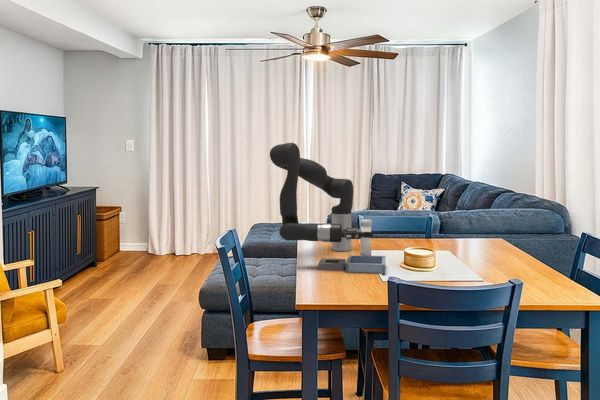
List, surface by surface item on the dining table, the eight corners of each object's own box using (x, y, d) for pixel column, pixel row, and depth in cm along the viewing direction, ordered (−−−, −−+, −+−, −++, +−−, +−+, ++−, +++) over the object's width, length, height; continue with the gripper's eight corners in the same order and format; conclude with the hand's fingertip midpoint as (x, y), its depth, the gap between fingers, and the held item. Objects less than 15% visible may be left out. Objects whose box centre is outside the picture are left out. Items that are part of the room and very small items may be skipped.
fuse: (360, 253, 230) (360, 219, 228) (371, 253, 229) (372, 219, 228) (359, 255, 225) (360, 220, 224) (370, 256, 225) (371, 220, 223)
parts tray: (348, 264, 237) (348, 254, 237) (385, 265, 235) (385, 255, 234) (345, 273, 222) (345, 263, 221) (384, 275, 219) (384, 264, 219)
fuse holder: (321, 265, 236) (321, 258, 236) (345, 266, 234) (345, 258, 234) (318, 271, 226) (318, 263, 226) (343, 271, 225) (343, 264, 224)
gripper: (327, 226, 221) (372, 227, 219) (331, 220, 235) (374, 221, 232) (327, 245, 222) (372, 246, 219) (331, 239, 236) (373, 240, 233)
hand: (372, 233), depth 226 cm, fingers closed on fuse, 4 cm apart
